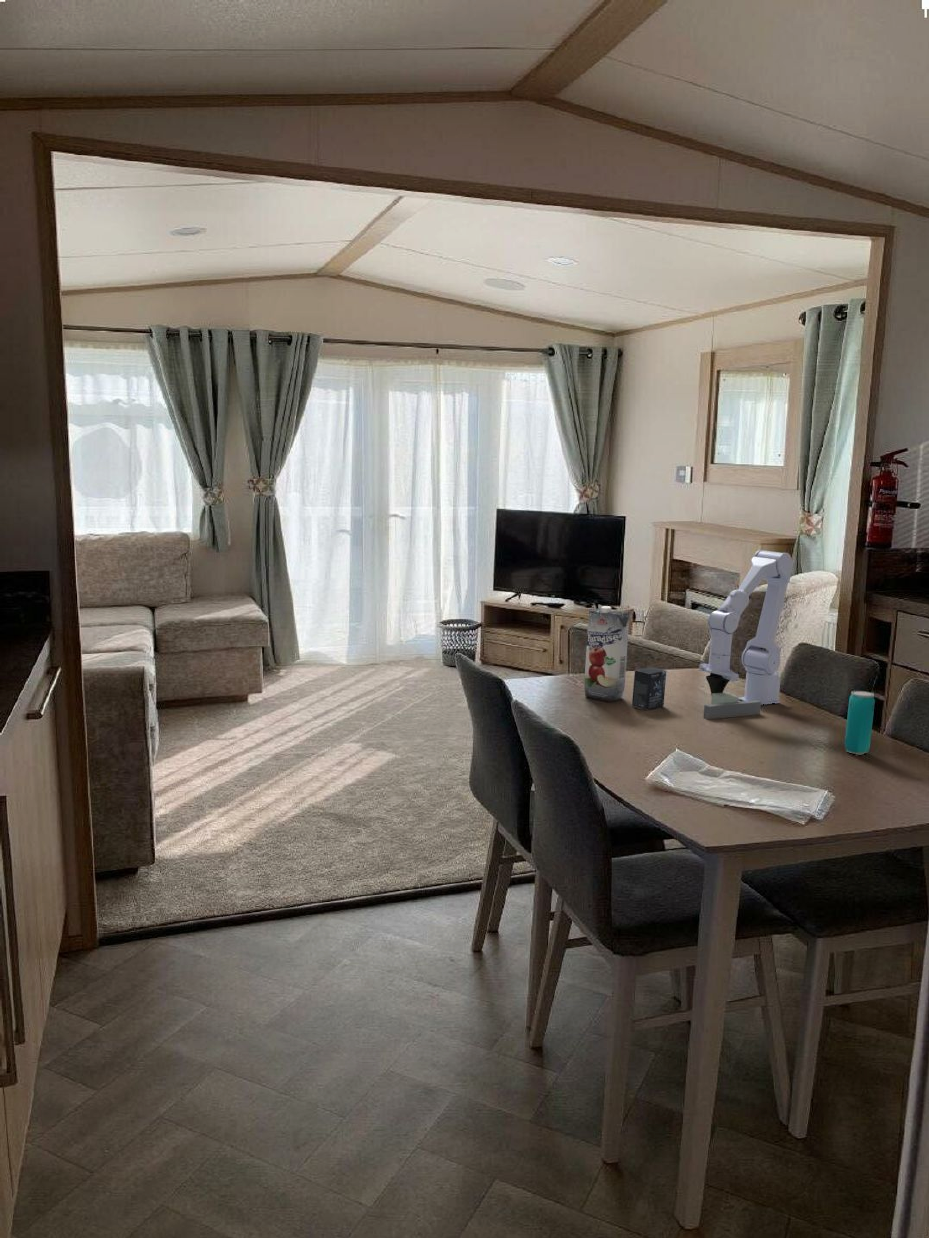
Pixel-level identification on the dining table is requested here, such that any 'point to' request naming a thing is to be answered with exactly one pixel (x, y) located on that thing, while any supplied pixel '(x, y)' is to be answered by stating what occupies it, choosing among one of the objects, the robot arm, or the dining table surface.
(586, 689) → the juice carton
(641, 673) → the box
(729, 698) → the block
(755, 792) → the dining table surface
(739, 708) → the board
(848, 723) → the beverage can
